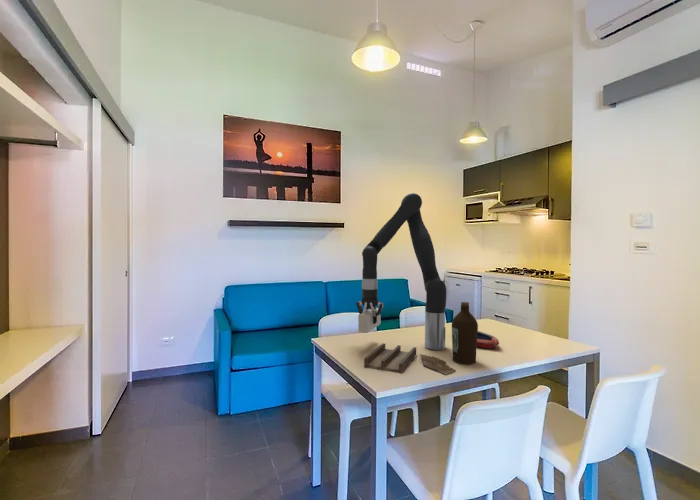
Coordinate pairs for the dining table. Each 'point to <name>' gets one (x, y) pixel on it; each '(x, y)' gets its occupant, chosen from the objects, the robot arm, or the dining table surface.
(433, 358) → the wooden fragment
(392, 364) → the rack
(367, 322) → the gray rectangular block
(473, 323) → the olive oil
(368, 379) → the dining table surface
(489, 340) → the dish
